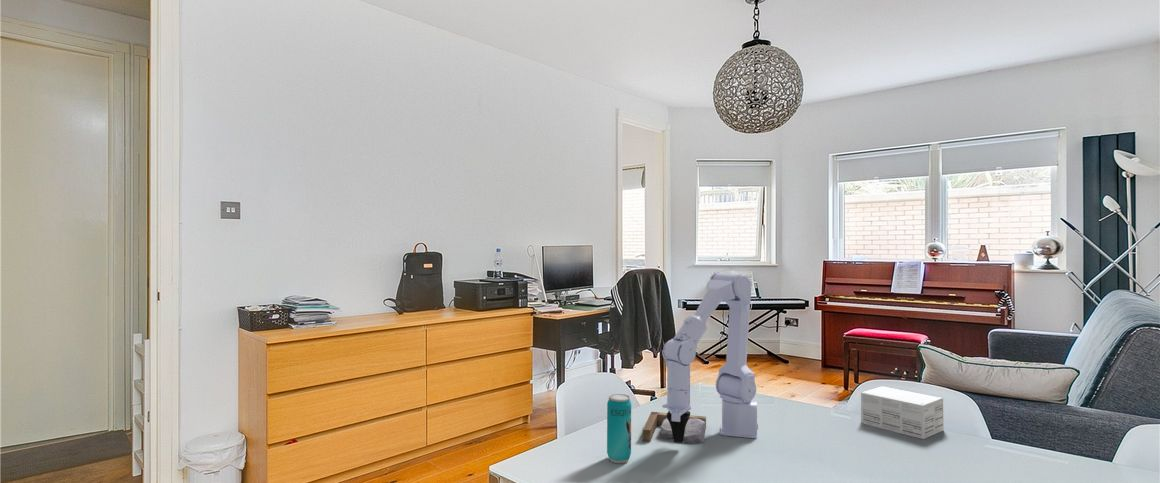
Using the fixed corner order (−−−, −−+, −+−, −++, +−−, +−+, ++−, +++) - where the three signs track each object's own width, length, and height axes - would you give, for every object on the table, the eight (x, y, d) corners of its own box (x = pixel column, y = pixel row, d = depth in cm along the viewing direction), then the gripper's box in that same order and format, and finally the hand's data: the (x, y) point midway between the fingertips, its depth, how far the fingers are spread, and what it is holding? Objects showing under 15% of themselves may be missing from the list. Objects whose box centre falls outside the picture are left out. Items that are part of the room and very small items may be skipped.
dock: (706, 427, 153) (706, 416, 153) (703, 447, 138) (703, 435, 138) (651, 422, 157) (651, 411, 157) (642, 440, 142) (642, 429, 142)
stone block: (704, 451, 140) (706, 431, 149) (703, 434, 139) (705, 415, 148) (658, 447, 144) (663, 428, 153) (657, 431, 143) (662, 412, 152)
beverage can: (629, 465, 126) (630, 400, 126) (605, 463, 127) (605, 399, 127) (632, 456, 131) (632, 394, 132) (608, 454, 133) (609, 392, 133)
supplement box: (944, 431, 152) (944, 397, 152) (923, 440, 144) (923, 405, 144) (882, 415, 166) (882, 384, 166) (860, 423, 158) (860, 391, 158)
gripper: (666, 379, 144) (665, 430, 144) (659, 393, 131) (658, 450, 130) (692, 381, 143) (692, 433, 142) (688, 396, 129) (688, 453, 128)
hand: (678, 441), depth 136 cm, fingers closed
